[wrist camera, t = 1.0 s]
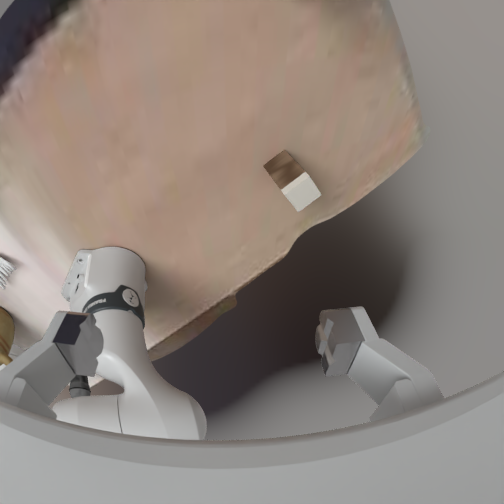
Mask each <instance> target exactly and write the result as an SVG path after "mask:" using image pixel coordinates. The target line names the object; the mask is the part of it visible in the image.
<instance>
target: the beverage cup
mask: <svg viewBox="0 0 504 504" xmlns="http://www.w3.org/2000/svg"><path fill="white" fill-rule="evenodd" d="M75 375H76V374H75ZM69 391H70V395H71V397H72V398H75V397H80V396H90V392H91V391H90V388H89V385H88V378H87V376H84V375H76V376H75V377H74V378H73V379H72V380H71V382H70V389H69Z"/></svg>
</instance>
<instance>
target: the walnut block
mask: <svg viewBox="0 0 504 504" xmlns="http://www.w3.org/2000/svg"><path fill="white" fill-rule="evenodd" d="M264 168H265V169H266V170H267V172H268V173H269V174H270V176H271V177H272V179H273V180H274V181H275V183H276V184H277V185H278V187H279V188H280V189H281V191H282V192H283V194H284V195H285V196H286V197H287V199H288V200H289V201H290V202H291V204H292V205H293V206H294V207H295V209H296V210H297V211H298V212H299V211H301V210H302V209H303V208H305V207H306V206H307V205H309V204H310V203H311V202H313V201H314V200H315V199H317V198H318V197H320V196H321V193H320V191H319V190H318V188H317V187H316V185H315V184H314V182H313V181H312V179H311V178H310V176H309V175H308V174H307V173H306V172H305V171H304V170H303V169H302V167H301V166H300V165H299V164H298V163H297V162H296V161H295V160H294V159H293V158H292V157H291V156H290V155H289V154H288V153H287V152H286V151H285V150H283V151H282V152H281V153H279V154H278V155H277V156H275V157H274V158H273V159H271V160H270V161H269V162H267V163H266V164H265V165H264Z"/></svg>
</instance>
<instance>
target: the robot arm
mask: <svg viewBox="0 0 504 504" xmlns="http://www.w3.org/2000/svg"><path fill="white" fill-rule="evenodd" d="M81 259H82V260H81ZM145 272H146V270H145V265H144V263H143V261H142V260H141V258H140V257H139V256H138V255H136V254H135V253H133V252H132V251H130V250H127V249H124V248H120V247H104V248H100V249H96V250H80V251H78V253H77V255H76V257H75V259H74V261H73V264H72V266H71V268H70V270H69V273H68V275H67V277H66V280H65V282H64V285H63V287H62V290H61V294H62V295H63V297H64V298H65V299H66V300H67V301H69V302H70V310H71V312H70V311H69V312H67V311H58V312H57V313H56V314H55V316H54V318H53V320H52V322H51V323H50V325H49V327H48V329H47V331H46V333H45V335H44V337H43V339H42V341H38V342H36V343H35V344H34V345H32V346H31V347H30V348H29V349H27V350H26V351H25V352H23V353H22V354H21V355H19V356H18V357H17V358H16V359H14V360H13V361H12V362H11V363H9V364H8V365H7V366H6V367H4V368H3V369H2V370H1V371H0V504H504V371H503V372H501V373H499V374H497V375H495V376H493V377H491V378H490V379H488V380H485V381H483V382H481V383H479V384H477V385H475V386H473V387H471V388H468V389H466V390H464V391H461V392H459V393H457V394H454V395H452V396H449V397H447V398H444V397H443V395H442V393H441V391H440V389H439V387H438V385H437V383H436V381H435V379H434V377H433V375H432V373H431V371H430V370H428V369H427V368H425V367H424V366H422V365H421V364H420V363H418V362H417V361H415V360H414V359H412V358H411V357H409V356H408V355H406V354H405V353H403V352H402V351H400V350H399V349H398V348H396V347H395V346H393V345H392V344H390V343H389V342H387V341H386V340H384V339H379V337H378V335H377V333H376V331H375V329H374V327H373V325H372V323H371V321H370V319H369V317H368V315H367V313H366V311H365V309H364V308H363V307H353V308H343V309H333V310H323V311H322V312H321V314H320V318H319V319H320V322H321V324H320V325H319V326H318V327H317V330H316V346H317V350H318V352H319V353H320V354H321V355H322V356H323V357H322V360H321V364H322V367H323V371H324V374H325V376H333V375H342V374H347V375H348V376H349V377H350V378H351V379H352V380H353V381H354V382H355V383H356V384H357V385H358V386H359V387H360V388H361V389H362V390H363V391H365V393H367V395H369V396H370V397H371V398H372V399H373V400H374V401H375V402H376V403H377V404H378V405H379V406H378V408H377V409H376V410H375V412H374V413H373V414H372V416H371V417H370V421H371V422H368V423H363V424H359V425H354V426H350V427H345V428H340V429H335V430H329V431H323V432H317V433H311V434H304V435H296V436H287V437H277V438H266V439H251V440H222V441H221V440H213V441H212V440H204V438H205V435H206V429H207V423H206V418H205V414H204V412H203V410H202V408H201V407H200V405H199V404H198V403H197V401H196V400H195V399H194V398H192V397H191V396H190V395H188V394H187V393H184V392H182V391H180V390H178V389H176V388H175V387H173V386H171V385H170V384H169V383H167V382H166V381H165V380H164V379H163V378H162V377H161V376H160V375H159V374H158V373H157V372H156V370H155V369H154V367H153V365H152V363H151V361H150V359H149V356H148V352H147V348H146V343H145V338H144V331H143V329H144V327H145V321H144V320H145V316H144V309H145V291H147V282H146V280H145ZM95 372H96V373H97V374H98V375H100V376H101V377H103V378H105V379H108V380H110V381H113V382H115V383H117V384H119V385H121V386H122V387H123V388H124V393H122V394H119V395H108V396H80V397H75V398H70V399H66V400H61V401H58V402H56V404H55V405H54V406H53V408H52V409H51V408H50V407H49V405H50V404H51V402H52V401H53V400H54V399H55V398H56V397H57V396H58V394H60V392H61V391H62V390H63V389H64V388H65V387H66V386H67V385H68V384H69V383H70V381H71V380H72V379H73V378H74V377H75V376H76V375H84V376H92V377H94V375H95ZM75 374H76V375H75Z"/></svg>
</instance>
